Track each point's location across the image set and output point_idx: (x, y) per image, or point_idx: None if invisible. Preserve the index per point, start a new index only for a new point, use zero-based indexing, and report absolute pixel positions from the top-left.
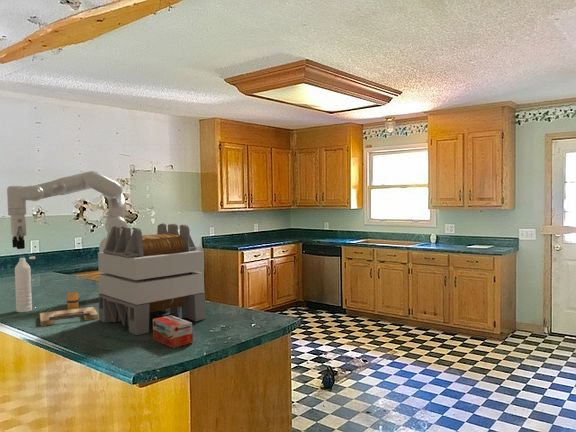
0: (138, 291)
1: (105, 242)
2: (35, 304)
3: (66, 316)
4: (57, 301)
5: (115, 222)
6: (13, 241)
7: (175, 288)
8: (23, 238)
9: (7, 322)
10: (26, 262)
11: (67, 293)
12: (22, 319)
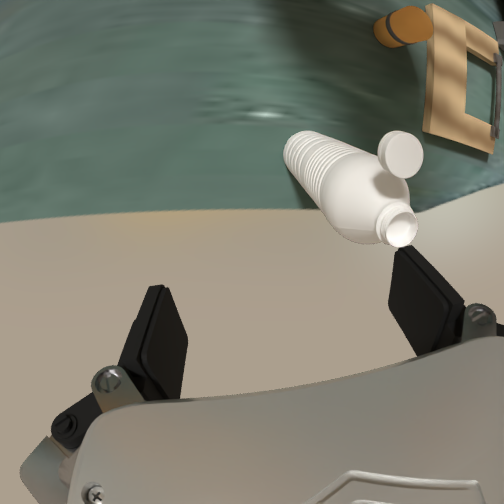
0: None
1: None
2: (210, 113)
3: (499, 103)
4: (201, 42)
5: None
6: (179, 387)
7: None
8: (491, 323)
9: (416, 207)
10: (399, 191)
11: (412, 35)
12: None
